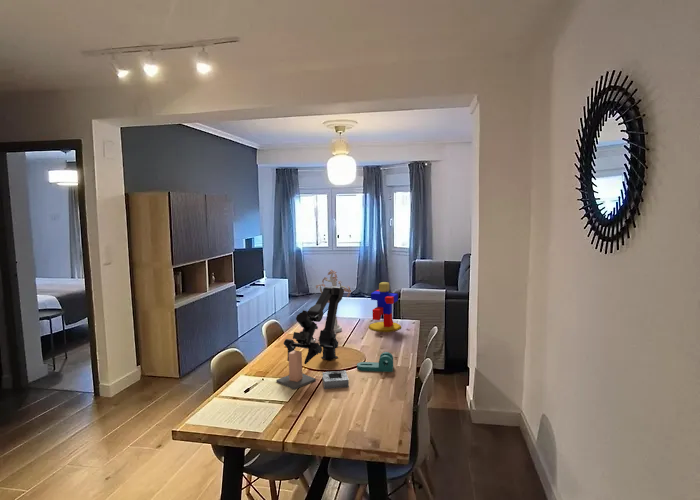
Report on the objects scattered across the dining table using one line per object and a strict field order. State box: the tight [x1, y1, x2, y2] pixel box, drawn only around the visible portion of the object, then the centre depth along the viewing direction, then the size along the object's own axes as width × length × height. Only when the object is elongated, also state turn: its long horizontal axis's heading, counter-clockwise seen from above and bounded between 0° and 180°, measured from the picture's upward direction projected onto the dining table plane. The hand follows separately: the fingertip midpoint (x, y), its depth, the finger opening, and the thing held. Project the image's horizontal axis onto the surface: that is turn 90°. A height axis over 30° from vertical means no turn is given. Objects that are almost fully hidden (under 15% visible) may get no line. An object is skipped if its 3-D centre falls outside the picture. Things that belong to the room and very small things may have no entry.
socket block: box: [321, 370, 350, 390], centre depth 200 cm, size 11×11×4 cm
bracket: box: [356, 351, 394, 373], centre depth 216 cm, size 18×7×8 cm, turn 81°
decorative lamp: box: [315, 269, 353, 336], centre depth 279 cm, size 28×24×40 cm
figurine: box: [368, 281, 402, 333], centre depth 287 cm, size 22×22×30 cm
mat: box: [275, 373, 317, 390], centre depth 203 cm, size 13×13×1 cm
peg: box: [287, 349, 303, 382], centre depth 202 cm, size 4×4×13 cm
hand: (296, 362), depth 203 cm, fingers open, 9 cm apart
